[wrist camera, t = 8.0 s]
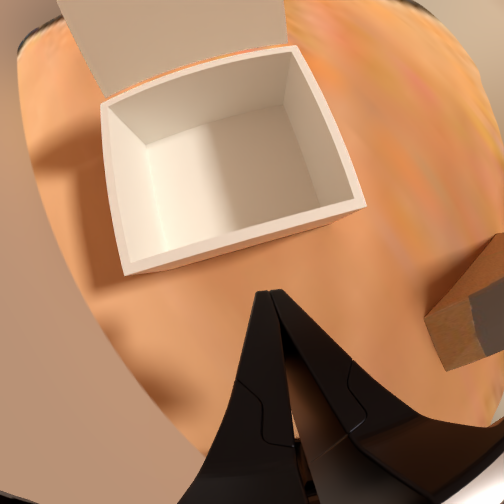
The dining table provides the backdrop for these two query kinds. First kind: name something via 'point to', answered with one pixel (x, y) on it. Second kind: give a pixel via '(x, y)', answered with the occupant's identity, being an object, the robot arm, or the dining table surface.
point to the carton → (223, 160)
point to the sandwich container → (472, 311)
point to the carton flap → (166, 34)
